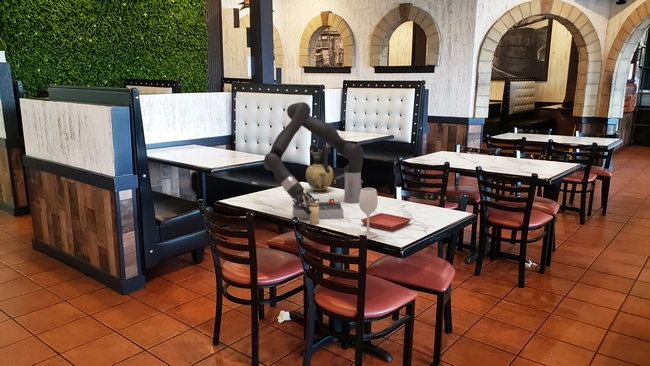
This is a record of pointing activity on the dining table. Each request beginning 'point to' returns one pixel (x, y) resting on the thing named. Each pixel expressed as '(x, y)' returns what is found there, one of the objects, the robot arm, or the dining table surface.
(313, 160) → the amphora
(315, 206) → the lockout cap
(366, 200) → the wineglass
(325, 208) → the push button box
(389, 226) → the plant saucer
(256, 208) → the dining table surface
